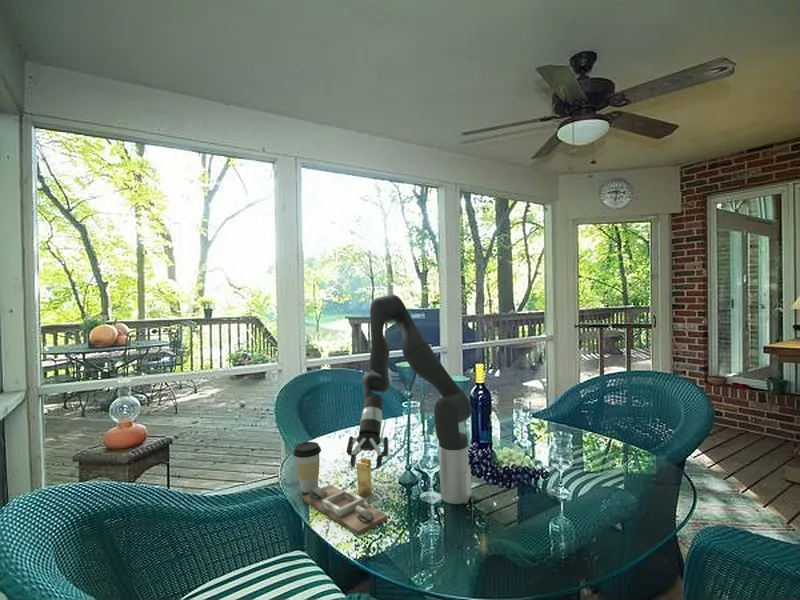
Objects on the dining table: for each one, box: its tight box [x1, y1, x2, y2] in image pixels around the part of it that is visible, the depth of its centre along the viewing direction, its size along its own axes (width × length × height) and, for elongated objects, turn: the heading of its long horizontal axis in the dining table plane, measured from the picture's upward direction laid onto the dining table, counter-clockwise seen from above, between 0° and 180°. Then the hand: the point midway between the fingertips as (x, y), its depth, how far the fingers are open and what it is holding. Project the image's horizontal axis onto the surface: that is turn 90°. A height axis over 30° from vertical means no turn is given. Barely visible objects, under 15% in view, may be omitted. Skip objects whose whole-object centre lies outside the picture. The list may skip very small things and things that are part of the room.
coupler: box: [355, 458, 373, 498], centre depth 149 cm, size 5×5×11 cm
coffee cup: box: [292, 441, 322, 494], centre depth 154 cm, size 9×9×15 cm
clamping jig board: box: [302, 484, 388, 536], centre depth 140 cm, size 29×11×4 cm, turn 44°
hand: (365, 467), depth 152 cm, fingers open, 8 cm apart
